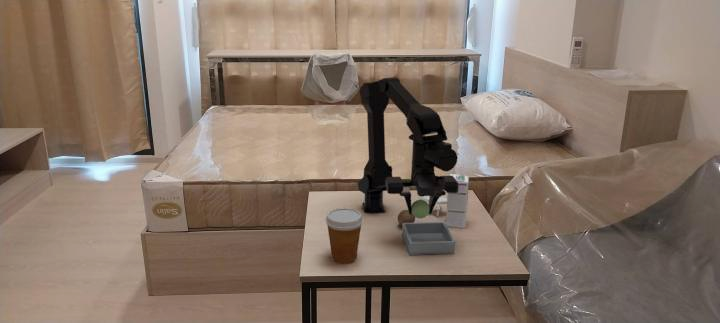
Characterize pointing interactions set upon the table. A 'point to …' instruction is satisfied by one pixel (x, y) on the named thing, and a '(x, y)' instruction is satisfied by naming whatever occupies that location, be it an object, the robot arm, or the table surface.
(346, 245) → the disposable coffee cup
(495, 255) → the table surface
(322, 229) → the table surface
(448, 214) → the syrup box
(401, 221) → the walnut ball
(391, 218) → the table surface
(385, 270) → the table surface
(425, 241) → the bin
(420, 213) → the green ball
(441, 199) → the origami figure
